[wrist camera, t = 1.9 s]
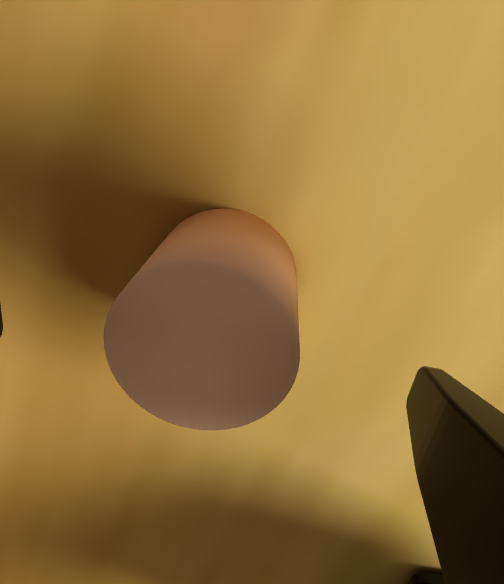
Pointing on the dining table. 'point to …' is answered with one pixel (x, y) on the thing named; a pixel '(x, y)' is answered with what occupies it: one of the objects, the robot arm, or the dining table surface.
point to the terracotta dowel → (209, 323)
